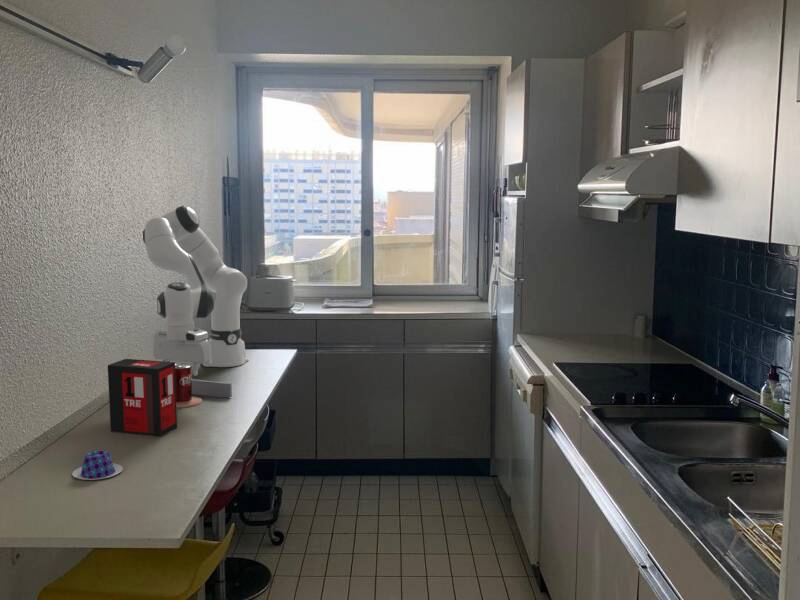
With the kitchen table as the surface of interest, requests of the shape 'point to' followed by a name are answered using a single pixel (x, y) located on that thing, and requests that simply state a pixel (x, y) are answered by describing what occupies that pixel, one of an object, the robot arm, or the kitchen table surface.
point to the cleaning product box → (142, 397)
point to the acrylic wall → (211, 388)
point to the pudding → (97, 466)
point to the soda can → (183, 383)
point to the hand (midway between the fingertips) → (182, 373)
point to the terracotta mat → (190, 403)
